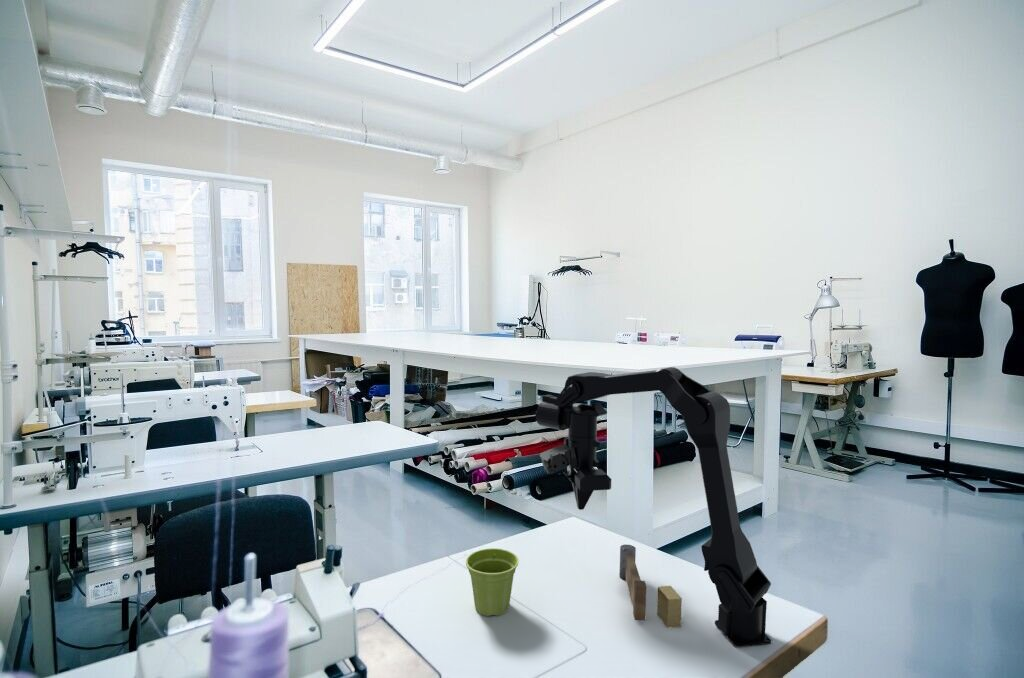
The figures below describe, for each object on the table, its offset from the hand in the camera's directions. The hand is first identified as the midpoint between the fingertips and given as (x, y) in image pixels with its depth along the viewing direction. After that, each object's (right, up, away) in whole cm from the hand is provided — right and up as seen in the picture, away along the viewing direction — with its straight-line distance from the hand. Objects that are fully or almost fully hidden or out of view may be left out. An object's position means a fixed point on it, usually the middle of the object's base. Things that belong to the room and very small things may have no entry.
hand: (580, 508), depth 109 cm
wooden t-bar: (+8, -12, -12) cm, 19 cm away
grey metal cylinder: (+9, -12, -4) cm, 16 cm away
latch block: (+13, -14, -18) cm, 26 cm away
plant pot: (-18, -13, -14) cm, 26 cm away
